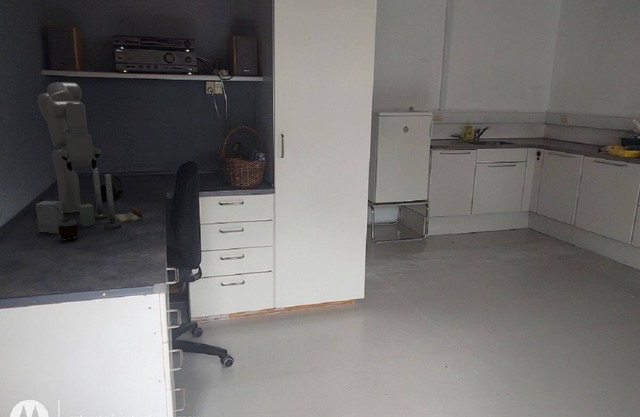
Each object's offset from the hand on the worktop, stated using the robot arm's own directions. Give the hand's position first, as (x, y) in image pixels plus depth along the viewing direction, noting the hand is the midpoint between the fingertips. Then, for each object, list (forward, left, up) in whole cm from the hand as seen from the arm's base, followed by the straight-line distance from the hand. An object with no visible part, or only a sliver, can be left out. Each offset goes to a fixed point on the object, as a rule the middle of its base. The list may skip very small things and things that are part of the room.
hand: (82, 169), depth 214 cm
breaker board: (+18, 0, -26) cm, 31 cm away
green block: (0, 0, -26) cm, 26 cm away
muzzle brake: (+26, +54, -26) cm, 66 cm away
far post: (+8, +10, -26) cm, 29 cm away
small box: (-15, -2, -26) cm, 30 cm away
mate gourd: (-12, -18, -26) cm, 33 cm away
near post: (+8, -10, -26) cm, 28 cm away
